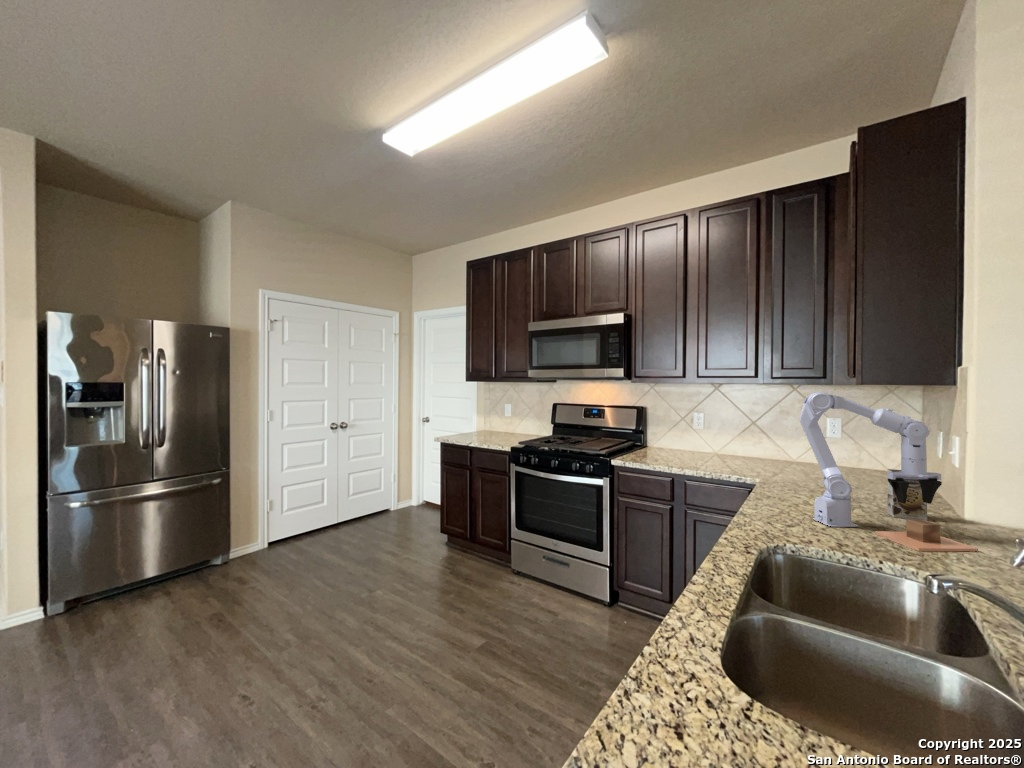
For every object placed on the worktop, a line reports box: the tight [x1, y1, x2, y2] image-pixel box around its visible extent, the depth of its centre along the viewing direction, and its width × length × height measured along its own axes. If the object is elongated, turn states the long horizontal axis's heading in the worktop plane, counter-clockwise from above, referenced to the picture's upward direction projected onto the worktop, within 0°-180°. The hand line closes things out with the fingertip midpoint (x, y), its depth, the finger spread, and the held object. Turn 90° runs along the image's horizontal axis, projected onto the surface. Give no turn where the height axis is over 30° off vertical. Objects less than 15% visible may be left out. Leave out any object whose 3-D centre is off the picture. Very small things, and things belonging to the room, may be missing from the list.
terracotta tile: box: [874, 530, 979, 553], centre depth 121 cm, size 16×14×1 cm
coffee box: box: [886, 468, 928, 521], centre depth 146 cm, size 9×6×16 cm
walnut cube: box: [905, 519, 942, 543], centre depth 121 cm, size 5×5×5 cm
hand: (914, 502), depth 129 cm, fingers open, 7 cm apart
